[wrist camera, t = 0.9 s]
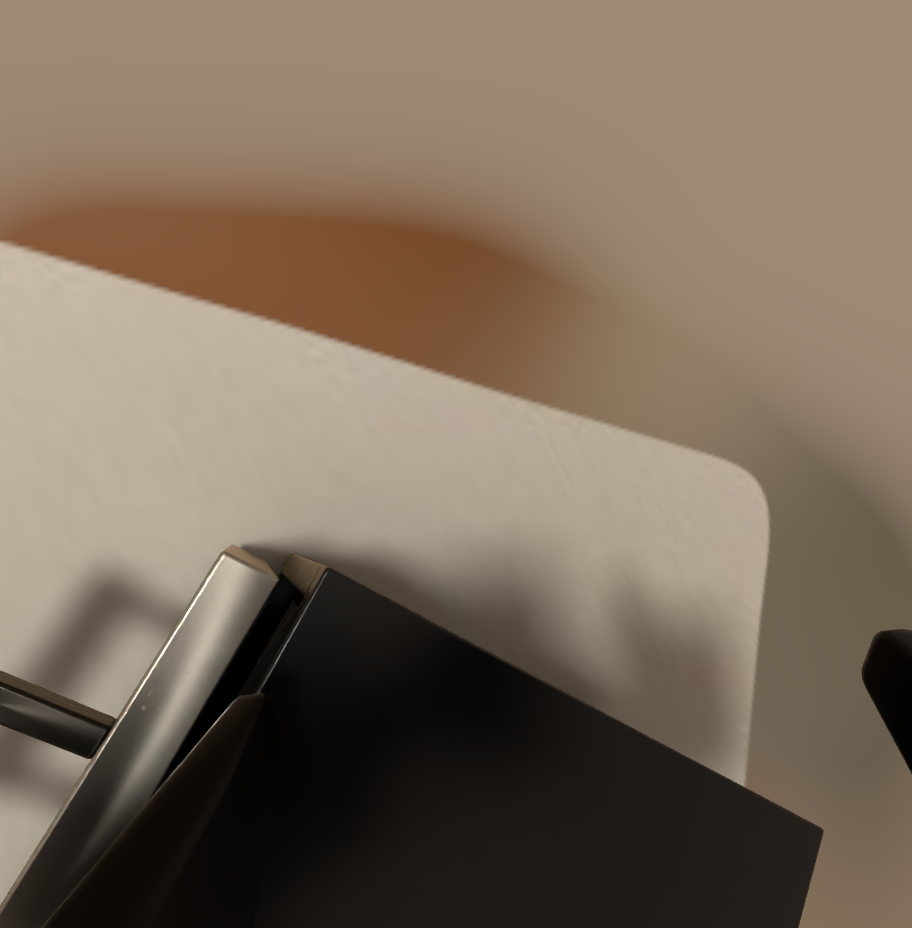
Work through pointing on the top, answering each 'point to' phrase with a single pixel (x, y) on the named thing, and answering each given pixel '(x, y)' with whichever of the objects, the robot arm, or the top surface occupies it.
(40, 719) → the dish drawer
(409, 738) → the small drawer cabinet
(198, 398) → the top surface
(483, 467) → the top surface
